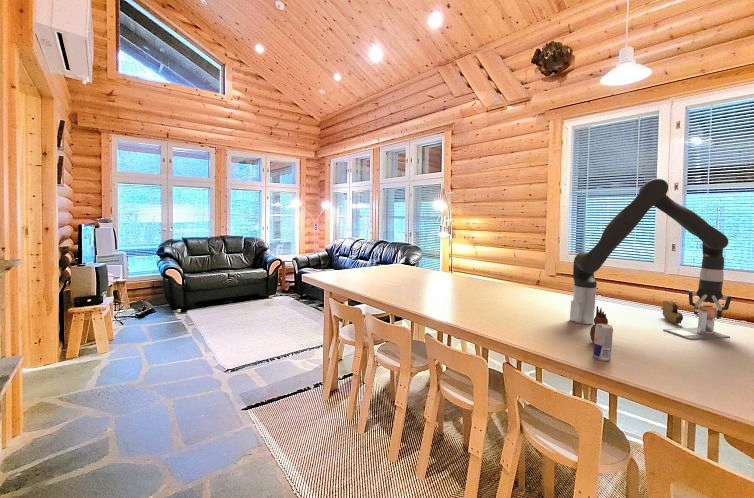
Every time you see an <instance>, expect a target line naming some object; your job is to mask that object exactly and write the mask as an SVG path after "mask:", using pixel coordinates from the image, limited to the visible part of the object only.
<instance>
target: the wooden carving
mask: <svg viewBox="0 0 754 498" xmlns="http://www.w3.org/2000/svg"><path fill="white" fill-rule="evenodd" d="M678 308H679V307H678V305H677V304H676V302H674V301H673V300H662V306H661V307H660V309H661V310H662V316H663V317H664V319H665V320H666V321H668V322H669V323H670V322H671V323H672V322H673V324H682V321H683V320H684V316H683V313H681V312H678Z"/></svg>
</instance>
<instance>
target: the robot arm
mask: <svg viewBox="0 0 754 498" xmlns="http://www.w3.org/2000/svg"><path fill="white" fill-rule="evenodd" d="M668 192H669V183H668V182H667V181H666V180H664V179H662V178H653V179H650V180H648V181H647V182H645V183H643V185H642V186H641V187H640V188H639V191H638V194H637V195H636V196H635V198H634V199H633V200H632V201H631V202H630V203H628V205H627V206H625V207H624V208H623V209H622V210H621V211H620V212H618V213H617V214H616V215H615V216H614V217H613V218H612V219H611V221H610V222H609V223H607V225H606V226H605V228H604V230H603V231H602V234H601V236H600V239H599V240H598V242H597V243H596V244H595V246H593V247H592V248H591V250H590V251H588V252H587V251H582V252H579V253H577V254H576V255H575V257H574V258H573V265H572V267H573V272H572V278H573V282H574V283H573V297H572V300H571V301H570V310H569V320H570V321H571V322H574V323H577V324H582V325H594V318H595V313H596V311H595V310H596V296H597V284H598V283H597V280H596V278H595V273H596V272H597V271H599V270H600V268H601V267H602V266H603V265H604V264H605V262H606V261H607V259H608V258H609V257H610V255H611V254H612V252H613V251H615V249H616V248H617V247H619V246H620V244H621V243H622V242H623V241H624V240H625V239H626V238H627V237H628V235H630V233H632V231H634V229H635V228H636V227H637V226H638V225H639V223H640V222H641V221H642V220H643V218H644V217H645V215H646V214H647V212H648V211H650V210H651V208H652V207H654V208H656V209H658V210H659V211H661V212H662V213H664V214H666V215H667V216H668V217H670V218H671V219H673V220H674V221H675V222H677V224H679V225H680V226H681V227H683V228H684V229H685V230H686V231H688V233H690V234H691V235H693V236H694V237H697V238H698V239H699V240H700V241H702V247H701V249H702V259H701V260H702V261H701V267H700V268H701V269H700V273H699V280H698V289H697V291H692V290H691V291H688V302H689V303H688V304H689V306H692V307H694V308H693V314H694V315H696V314H699V312H696V311H695V309H700V305H702V303H710V304H715V307H716V308H717V309H718V310H717V312H716V314H717V317H716V320H719V319H720V318H722V313H723V311H728V310H729V308H730V304H731V301H732V296H731V295H726V294H723V283H724V279H725V278H724V276H725V275H724V268H725V257H724V256H723V255H724V254H723V253H724V249H725V248H726V247H727V246H728V245H729V238H728V237H727V235H725V234H724V233H722V232H721V231H720V230H718V229H717V228H715V227H714V226H712V225H711V224H709V223H708V222H707V221H706V220H705V219H704V218H702V217H701V216H700V215H698V214H697V213H696V212H695V211H693V210H691V209H689V208H687V207H685V206H683V205H682V204H679V203H678V202H676V201H674V199H672V198H670V197H669V195H667V194H668ZM696 295H697V296H698V298H699V299H698V300H697V301H696V302H694V299H693V298H694V297H695V296H696ZM722 298H723V300H724V301H725V303H724V305H723V306H722V305H721V304H720V300H721V299H722Z"/></svg>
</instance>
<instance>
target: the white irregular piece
mask: <svg viewBox="0 0 754 498" xmlns="http://www.w3.org/2000/svg"><path fill="white" fill-rule="evenodd" d="M717 310H718V308H717V307H716V313H717ZM695 311H696V312H698V314H699V317H698V321H697V328H698V329H697V334H713V331H714V328H715V319H716V317H715V318H707V310H703V309H700V308H699V309H695Z"/></svg>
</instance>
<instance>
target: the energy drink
mask: <svg viewBox="0 0 754 498" xmlns="http://www.w3.org/2000/svg"><path fill="white" fill-rule="evenodd" d="M613 333H614V328H613V326H612V325H610V324H596V326H595V337H594V343H593V350H592V351H593V353H592V356H593V358H594V359H596V360H598V361H602V362H610V361H611V359H612V344H613V335H614V334H613Z"/></svg>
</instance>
